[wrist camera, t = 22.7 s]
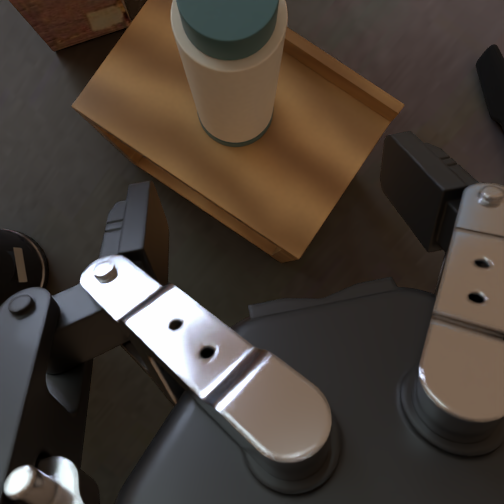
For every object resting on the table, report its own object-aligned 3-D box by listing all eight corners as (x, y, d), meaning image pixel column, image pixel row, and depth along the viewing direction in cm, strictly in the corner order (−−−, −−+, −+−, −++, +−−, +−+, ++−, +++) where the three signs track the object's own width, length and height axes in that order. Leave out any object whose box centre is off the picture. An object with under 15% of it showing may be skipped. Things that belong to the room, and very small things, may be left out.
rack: (281, 263, 41) (302, 258, 26) (129, 161, 42) (61, 96, 26) (346, 165, 42) (405, 104, 27) (196, 65, 42) (168, -53, 27)
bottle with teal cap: (245, 161, 28) (245, 79, 16) (183, 120, 28) (135, 6, 16) (287, 100, 28) (318, -26, 16) (225, 59, 28) (210, -97, 16)
